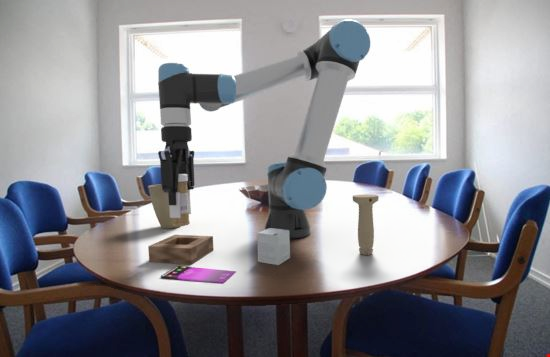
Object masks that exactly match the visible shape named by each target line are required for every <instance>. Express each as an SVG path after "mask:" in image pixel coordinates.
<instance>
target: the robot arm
mask: <svg viewBox="0 0 550 357" xmlns="http://www.w3.org/2000/svg"><path fill="white" fill-rule="evenodd" d="M370 48H371V38H370V35H369V33H368V32H367V28H365V26H364V25H363V24H362V23H360V22H359V21H357V20H355V19H354V20H353V19H343V20H341V21H339V22H337V23H335V24H334V25H332V27H331V28H330V29H329V30H328V31H327V32H326V33H325V34H324V35H322V36H321V37H320V38H319V39H318V40H316V42H314V43H313V44H311V45H310V46H308V47H306V48H304V49H300V50H298V51H297V53H296V54H295V55H294V56H290V57H287V58H284V59H281V60H278V61H275V62H272V63H269V64H267V65H263V66H260V67H257V68H254V69H251V70H248V71H245V72H242V73H239V74H236V75H231V74H224V73H217V74H216V73H215V74H214V73H212V74H211V73H192V72H190V71H189V67H188V66H187V65H186V64H184V63H178V62H165V63H163V64H161V65H160V66H159V67H158V71H157V72H158V75H157V76H158V82H157V83H158V97H159V112H160V116H159V117H160V125H162V127H161V128H160V134H161V135H160V137H161V138H160V139H161V142H163V143H165V147H164V149H163V150H159V151H158V152H157V153H158V157H159V162H160V163H159V164H160V165H159V166H160V175H161V176H160V178H161V184H162V190H163V191H164V192H165V193H168V197H169V210H170V218H181V211H180V192H177V189H178V175H179V174H187V177H188V181H187V189H188V203H189V215H191V214H192V210H191V209H192V208H191V190H194V187H195V168H194V167H195V165H194V164H195V163H194V161H195V160H194V158H195V151H194V150H191V149H190V148H189V144H188V143H189V142H191V141H192V139H193V138H192V137H193V136H192V127H190V126H191V125H192V119H191V118H192V117H191V104H199V106H200V107H201V108H202V109H203V110H205V112H215V111H218V110H219V109H221V108H224V107H225V106H226V107H227V106H229V105H232V104H234V103H235V104H236V103H237V102H241V101H243V100H247V99H249V98H253V97H255V96H257V95H261V94H264V93H266V92H270V91H273V90H275V89H278V88H281V87H285V86H287V85H290V84H293V83H296V82H299V81H301V80H303V81H305V82H309V81H312V80H315V79H316V82H315V85H314V88H313V92H312V94H311V98H310V102H309V105H308V108H307V111H306V114H305V117H304V121H303V125H302V127H301V131H300V134H299V137H298V140H297V144H296V147H295V150H294V152H293V153H292V154H290V155H288V156H287V158H286V162H278V163H277V162H276V163H272V164H270V165H269V166H268V168H267V187H268V189H267V190H268V214H267V217H266V221H265V225H264V228H263V229H264V230H266V229H269V228H275V229H283V230H289V237H290V240H291V239H300V238H304V237H307V236H309V235H310V234H311V224H310V221H309V218H308V216H307V213H306V210H307V211H308V210H311V209H314V208H315V207H317V206H318V205H320V203H322V201H323V200H324V199H325V196H326V193H327V186H328V185H327V182H326V179H325V176H326V173H327V169H328V168H327V165H326V163H325V157H326V155H327V150H328V147H329V144H330V140H331V137H332V135H333V132H334V128H335V124H336V121H337V117H338V114H339V111H340V108H341V105H342V101H343V99H344V95H345V91H346V88H347V85H348V83H349V81H351V80H353V79H354V78H355V77H356V74H357V71H358V67H359V65H360V61H363V60H364V59H365V58H366V57H367V55H368V54H369V52H370ZM264 230H263V231H264Z"/></svg>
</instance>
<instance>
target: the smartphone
mask: <svg viewBox="0 0 550 357" xmlns="http://www.w3.org/2000/svg"><path fill="white" fill-rule="evenodd" d="M236 273H237V271H235V270H227V269H226V270H225V269H215V268H205V267H194V266H184V265H183V266H182V265H177V266H174V267H173V268H171V269H170V270H168V271H166V272H164V273H163V274H161V275H160V278H161V279H166V280H174V281H175V280H176V281H186V282H195V283H196V282H197V283H207V284H208V283H209V284H220V285H221V284H224V283H226V282H227V281H228V280H229V279H230V278H231V277H233V275H235V274H236Z"/></svg>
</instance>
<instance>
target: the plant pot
mask: <svg viewBox="0 0 550 357" xmlns="http://www.w3.org/2000/svg"><path fill="white" fill-rule="evenodd" d="M147 187H148V193H149V197H150V200H151V204H152V207H153V211H154V213H155V216H156V218H157V222H158V223H159V225H160V227H161V228H162V229H165V230H166V229H177V228H181V227H182V226H173V225H172V223H173V222H172V218H170V210H169V197H168V193H165V192H164V191H163V190H162V183H161V184H151V185H148V186H147Z"/></svg>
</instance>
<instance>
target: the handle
mask: <svg viewBox="0 0 550 357" xmlns="http://www.w3.org/2000/svg"><path fill="white" fill-rule="evenodd" d="M379 198H380V196H379V195H377V194H371V193H369V194H355V195H352V201H353V203H355V204H357V205H358V221H357V239H358V240H357V242H358V247H359V248H358V249H359V250H358V251H359V254H361V255H363V256H365V255H366V256H370V255H372V254H373V252H374V248H373V247H374V240H375V228H374V226H375V225H374V216H373V215H374V214H373V213H374V212H373V207H374V204H375V203H377V202H378V201H379Z"/></svg>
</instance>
